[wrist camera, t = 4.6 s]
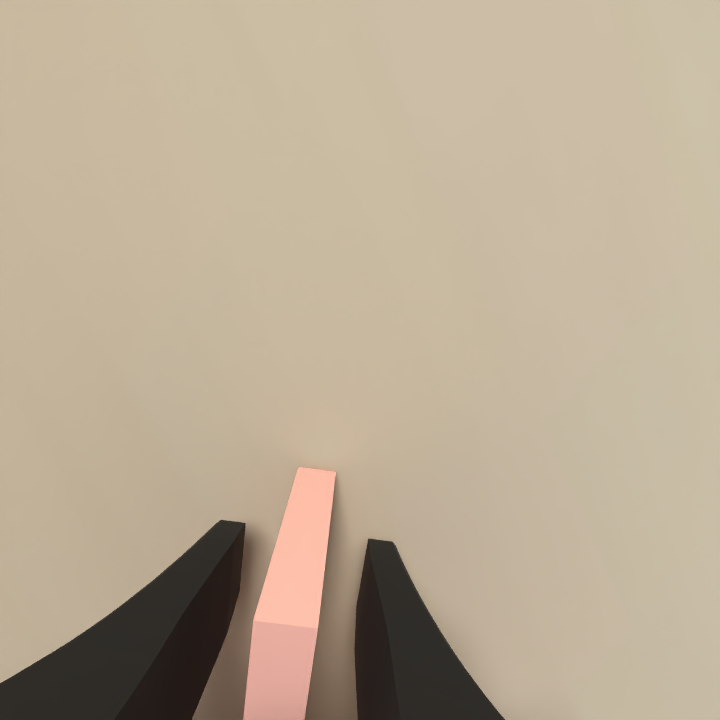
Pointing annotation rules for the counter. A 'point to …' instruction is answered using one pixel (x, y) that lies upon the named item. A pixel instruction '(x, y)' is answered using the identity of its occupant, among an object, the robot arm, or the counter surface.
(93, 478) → the counter surface
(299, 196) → the counter surface
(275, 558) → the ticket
